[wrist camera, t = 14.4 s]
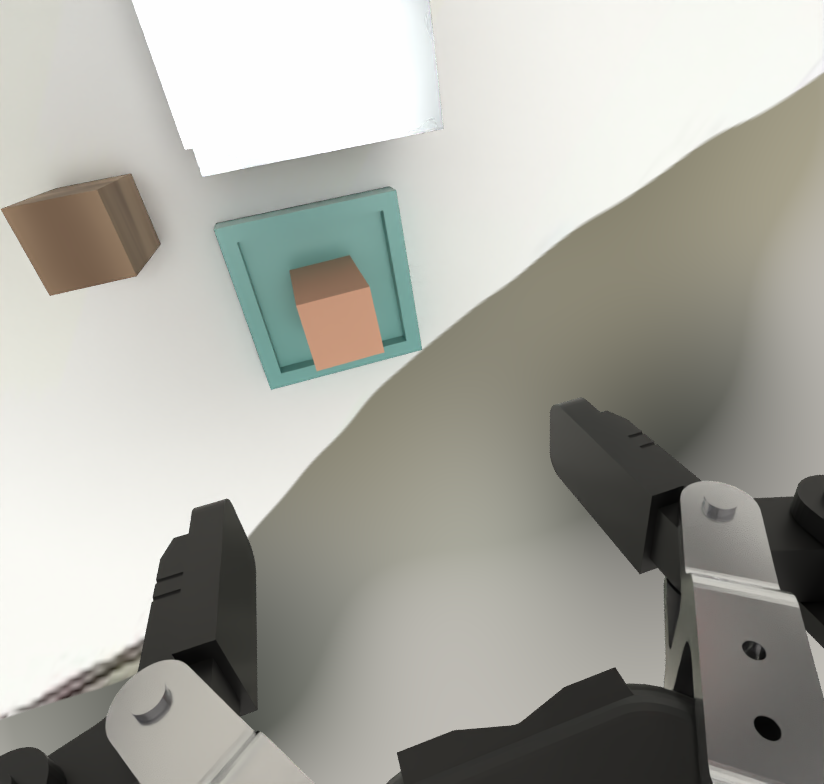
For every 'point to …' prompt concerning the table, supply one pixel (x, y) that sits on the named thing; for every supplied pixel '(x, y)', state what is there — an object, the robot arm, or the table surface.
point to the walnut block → (85, 233)
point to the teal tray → (310, 244)
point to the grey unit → (292, 75)
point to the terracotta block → (336, 312)
